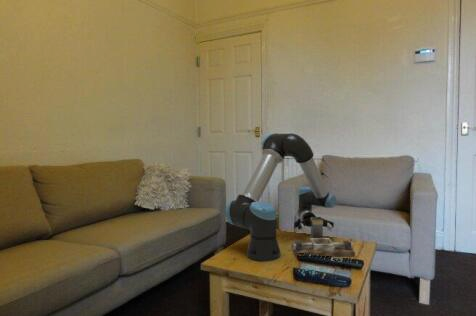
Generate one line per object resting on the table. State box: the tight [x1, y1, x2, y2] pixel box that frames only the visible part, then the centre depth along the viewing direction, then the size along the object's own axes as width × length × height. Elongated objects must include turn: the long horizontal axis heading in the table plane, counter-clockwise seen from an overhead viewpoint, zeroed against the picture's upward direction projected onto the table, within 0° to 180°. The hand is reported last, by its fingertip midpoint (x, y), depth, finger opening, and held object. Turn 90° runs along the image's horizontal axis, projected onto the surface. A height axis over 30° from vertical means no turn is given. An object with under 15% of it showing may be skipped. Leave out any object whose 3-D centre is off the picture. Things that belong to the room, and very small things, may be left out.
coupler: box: [310, 216, 324, 238], centre depth 166 cm, size 5×5×13 cm
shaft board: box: [291, 237, 356, 258], centre depth 155 cm, size 27×12×5 cm, turn 89°
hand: (317, 229), depth 166 cm, fingers open, 13 cm apart
